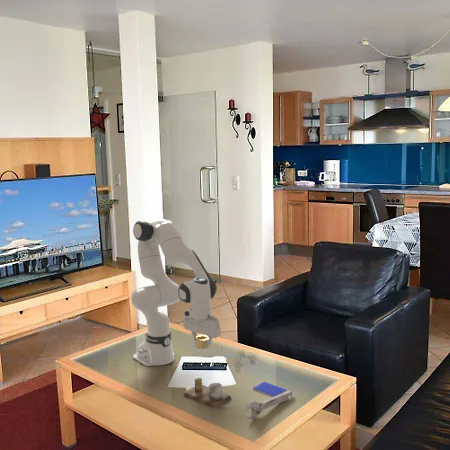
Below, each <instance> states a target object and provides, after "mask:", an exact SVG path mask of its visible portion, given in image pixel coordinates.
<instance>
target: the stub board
mask: <svg viewBox="0 0 450 450" xmlns="http://www.w3.org/2000/svg"><path fill="white" fill-rule="evenodd" d="M193 382H194V386H193V387H191V388H189V389H187V390H185V391H184V392H183V395H184V397H186V398H187V397H188V398H190V399H192V400H194V401H198V402H200V403H202V404H204V405H208V406H210V407H213V408H217V407H218V406H220V405H222V404H223V403H225V402H227V401H229V400H230V399H231V398H232V397H231V394H229V393H226V392H224V391H223V385H222V383H220V382H212V383H210V384H209V385H208V386H207V385H204V384H203V379H202V378H201V377H196V378H194V381H193Z"/></svg>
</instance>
